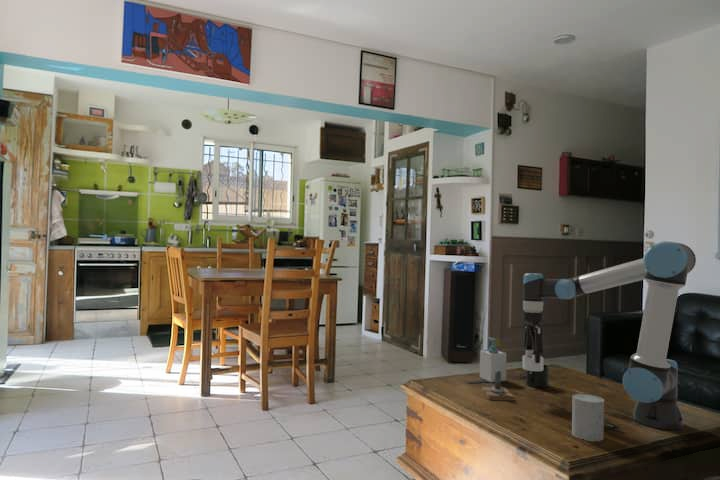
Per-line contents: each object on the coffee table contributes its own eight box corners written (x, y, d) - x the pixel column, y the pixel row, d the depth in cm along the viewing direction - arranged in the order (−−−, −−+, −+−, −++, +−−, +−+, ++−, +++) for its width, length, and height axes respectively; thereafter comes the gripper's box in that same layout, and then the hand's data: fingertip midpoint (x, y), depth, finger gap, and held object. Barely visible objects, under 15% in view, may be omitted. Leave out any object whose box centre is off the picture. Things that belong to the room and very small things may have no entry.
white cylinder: (594, 430, 158) (594, 393, 158) (610, 441, 148) (610, 402, 149) (566, 429, 158) (566, 393, 158) (580, 441, 148) (581, 402, 148)
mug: (519, 385, 210) (519, 365, 210) (531, 381, 218) (532, 361, 219) (539, 390, 203) (540, 369, 204) (551, 385, 212) (552, 365, 212)
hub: (545, 371, 184) (545, 358, 185) (526, 371, 185) (526, 358, 185) (538, 367, 192) (538, 354, 192) (520, 366, 192) (520, 354, 192)
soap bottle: (494, 376, 226) (495, 336, 226) (506, 380, 218) (506, 339, 218) (479, 377, 223) (480, 337, 223) (490, 382, 214) (491, 340, 215)
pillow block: (514, 400, 188) (514, 375, 188) (489, 399, 188) (489, 374, 189) (505, 391, 200) (505, 368, 200) (481, 390, 200) (482, 367, 201)
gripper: (552, 314, 179) (552, 374, 178) (533, 308, 199) (533, 362, 198) (532, 314, 179) (532, 374, 178) (515, 308, 199) (515, 362, 198)
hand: (532, 368), depth 188 cm, fingers closed on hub, 7 cm apart
